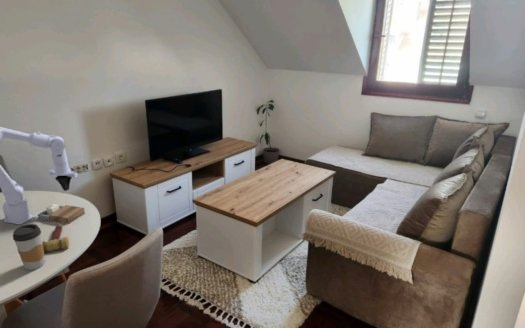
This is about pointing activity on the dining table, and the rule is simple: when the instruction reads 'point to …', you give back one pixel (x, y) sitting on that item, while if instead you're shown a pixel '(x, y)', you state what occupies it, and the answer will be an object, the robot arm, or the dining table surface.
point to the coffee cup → (30, 246)
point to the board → (67, 214)
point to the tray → (45, 215)
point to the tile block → (52, 208)
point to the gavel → (56, 241)
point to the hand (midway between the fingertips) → (66, 189)
